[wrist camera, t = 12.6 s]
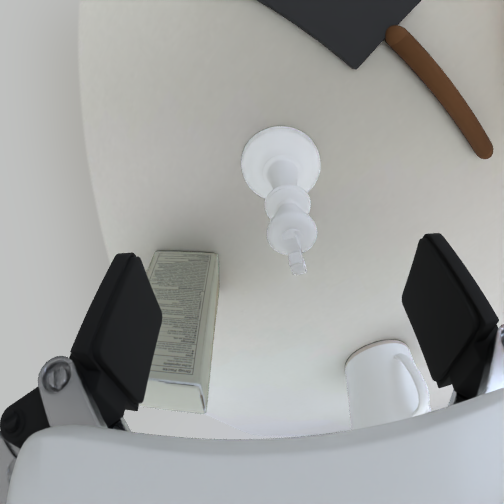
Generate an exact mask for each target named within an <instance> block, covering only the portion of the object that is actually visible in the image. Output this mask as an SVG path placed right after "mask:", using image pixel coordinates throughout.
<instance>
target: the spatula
mask: <svg viewBox="0 0 504 504" xmlns="http://www.w3.org/2000/svg"><path fill="white" fill-rule="evenodd" d="M257 1H259V2H261V3H262V4H264V5H266V6H267V7H269V8H271V9H272V10H274V11H275V12H277V13H279V14H280V15H282V16H283V17H285V18H286V19H288V20H289V21H291V22H292V23H294V24H295V25H297V26H298V27H300V28H301V29H302V30H304V31H305V32H307V33H308V34H309V35H311V36H312V37H313V38H315V39H316V40H318V41H319V42H320V43H321V44H323V45H324V46H325V47H327V48H328V49H329V50H330V51H332V52H333V53H334V54H335V55H337V56H338V57H339V58H340V59H342V60H343V61H344V62H345V63H346V64H347V65H349V66H350V67H351V68H352V69H357V68H358V67H359V66H360V65H361V64H362V63H363V62H364V61H365V60H366V58H367V57H368V56H369V55H370V54H371V53H372V52H373V51H374V50H375V49H376V48H377V46H378V45H379V44H380V43H381V42H382V41H383V40H384V39H385V40H386V42H387V44H388V45H389V46H390V47H391V48H392V49H393V50H394V51H395V52H396V53H397V54H398V55H399V56H400V57H401V58H402V59H403V60H404V61H405V62H406V63H407V64H408V65H409V66H410V67H411V69H412V70H413V71H414V72H415V73H416V74H417V75H418V76H419V77H420V79H421V80H422V81H423V82H424V83H425V84H426V86H427V87H428V88H429V89H430V90H431V92H432V93H433V94H434V95H435V96H436V98H437V99H438V100H439V101H440V103H441V104H442V105H443V107H444V108H445V109H446V111H447V112H448V113H449V115H450V116H451V117H452V119H453V120H454V121H455V123H456V124H457V126H458V127H459V129H460V130H461V131H462V133H463V134H464V136H465V137H466V139H467V140H468V142H469V144H470V145H471V147H472V148H473V150H474V151H475V153H476V154H477V156H478V157H480V158H481V159H488V158H490V157H491V156H492V154H493V146H492V143H491V142H490V140H489V138H488V136H487V135H486V133H485V131H484V129H483V128H482V126H481V125H480V123H479V121H478V120H477V118H476V117H475V115H474V113H473V112H472V110H471V109H470V107H469V106H468V104H467V103H466V101H465V100H464V99H463V97H462V96H461V94H460V93H459V91H458V90H457V89H456V87H455V86H454V85H453V83H452V82H451V81H450V79H449V78H448V77H447V75H446V74H445V73H444V72H443V70H442V69H441V68H440V67H439V65H438V64H437V63H436V62H435V61H434V59H433V58H432V57H431V56H430V55H429V54H428V52H427V51H426V50H425V49H424V48H423V47H422V46H421V45H420V44H419V42H418V41H417V40H416V39H415V38H414V37H413V36H412V35H411V34H410V33H409V32H408V31H407V30H406V29H405V28H403V27H401V26H398V24H399V23H400V22H401V21H402V20H403V19H404V18H405V17H406V16H407V15H408V14H409V13H410V12H411V10H412V9H413V8H414V7H415V6H416V5H417V4H418V3H419V2H420V1H421V0H257Z"/></svg>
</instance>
